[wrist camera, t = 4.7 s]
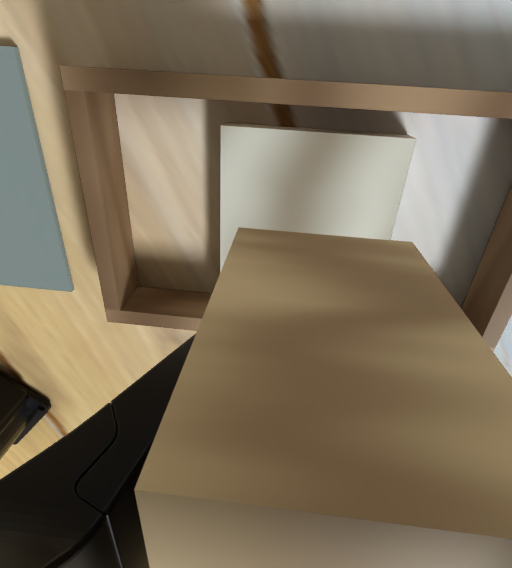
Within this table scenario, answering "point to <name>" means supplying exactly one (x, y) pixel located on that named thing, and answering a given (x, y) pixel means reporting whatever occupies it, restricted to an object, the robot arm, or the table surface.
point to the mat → (26, 192)
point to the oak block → (331, 419)
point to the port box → (272, 179)
